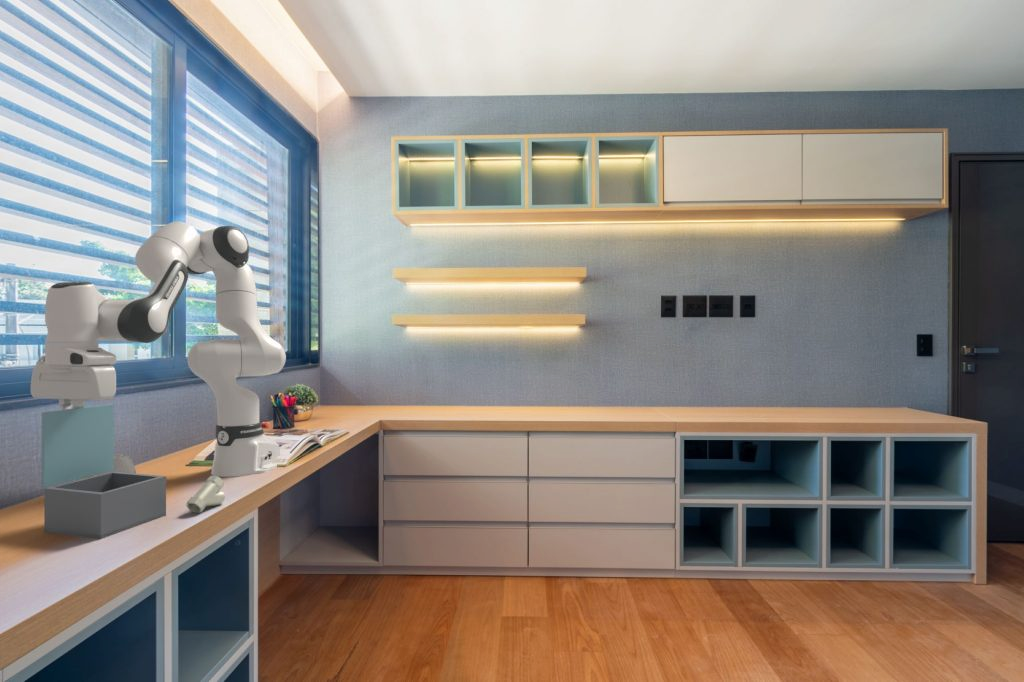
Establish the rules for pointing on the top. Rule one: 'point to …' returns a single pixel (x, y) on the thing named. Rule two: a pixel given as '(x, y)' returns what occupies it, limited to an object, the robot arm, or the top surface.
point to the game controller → (120, 465)
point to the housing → (104, 504)
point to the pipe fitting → (207, 495)
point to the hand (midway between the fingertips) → (72, 420)
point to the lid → (77, 443)
